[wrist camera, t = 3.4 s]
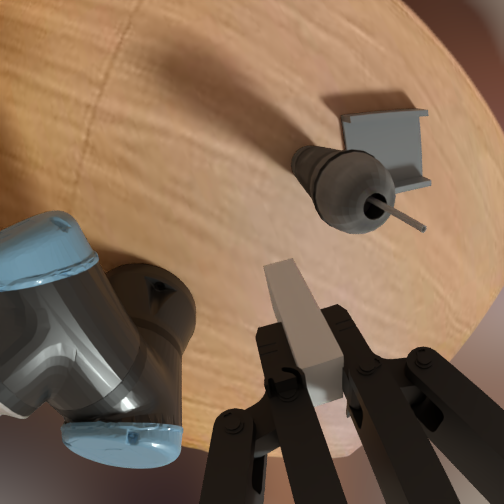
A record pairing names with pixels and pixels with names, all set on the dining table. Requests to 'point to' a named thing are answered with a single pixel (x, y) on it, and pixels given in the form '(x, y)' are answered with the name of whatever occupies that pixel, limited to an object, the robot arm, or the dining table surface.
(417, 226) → the beverage cup
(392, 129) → the cradle
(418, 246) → the dining table surface
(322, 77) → the dining table surface
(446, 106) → the dining table surface
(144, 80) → the dining table surface
